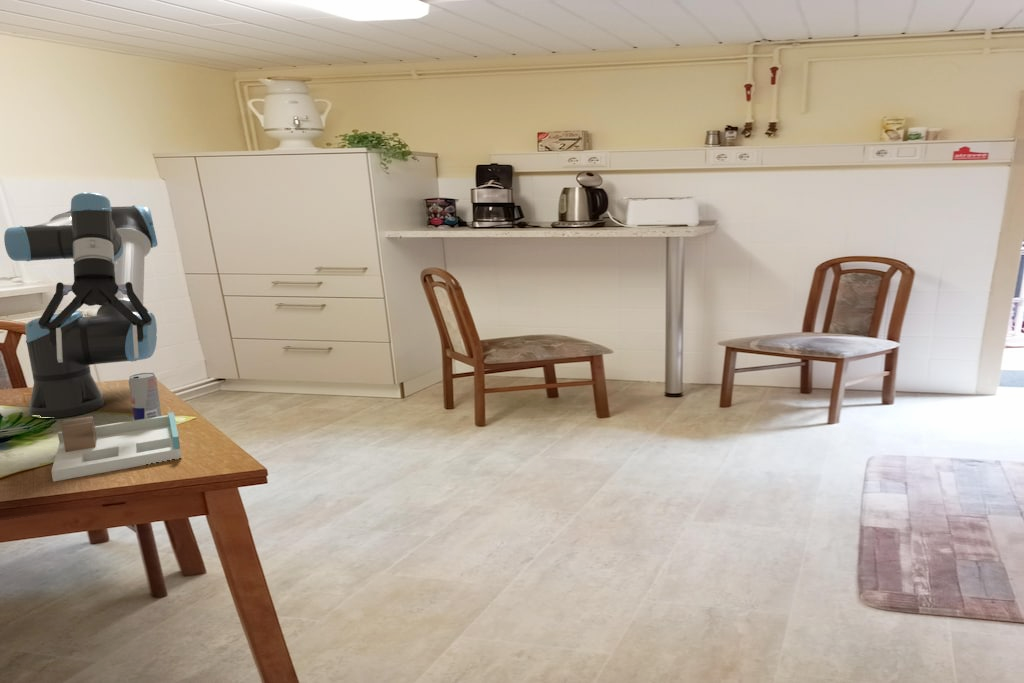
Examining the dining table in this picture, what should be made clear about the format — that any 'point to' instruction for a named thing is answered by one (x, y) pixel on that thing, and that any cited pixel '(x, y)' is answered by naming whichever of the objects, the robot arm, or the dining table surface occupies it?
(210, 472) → the dining table surface
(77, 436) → the walnut block
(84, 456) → the board
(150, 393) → the energy drink
